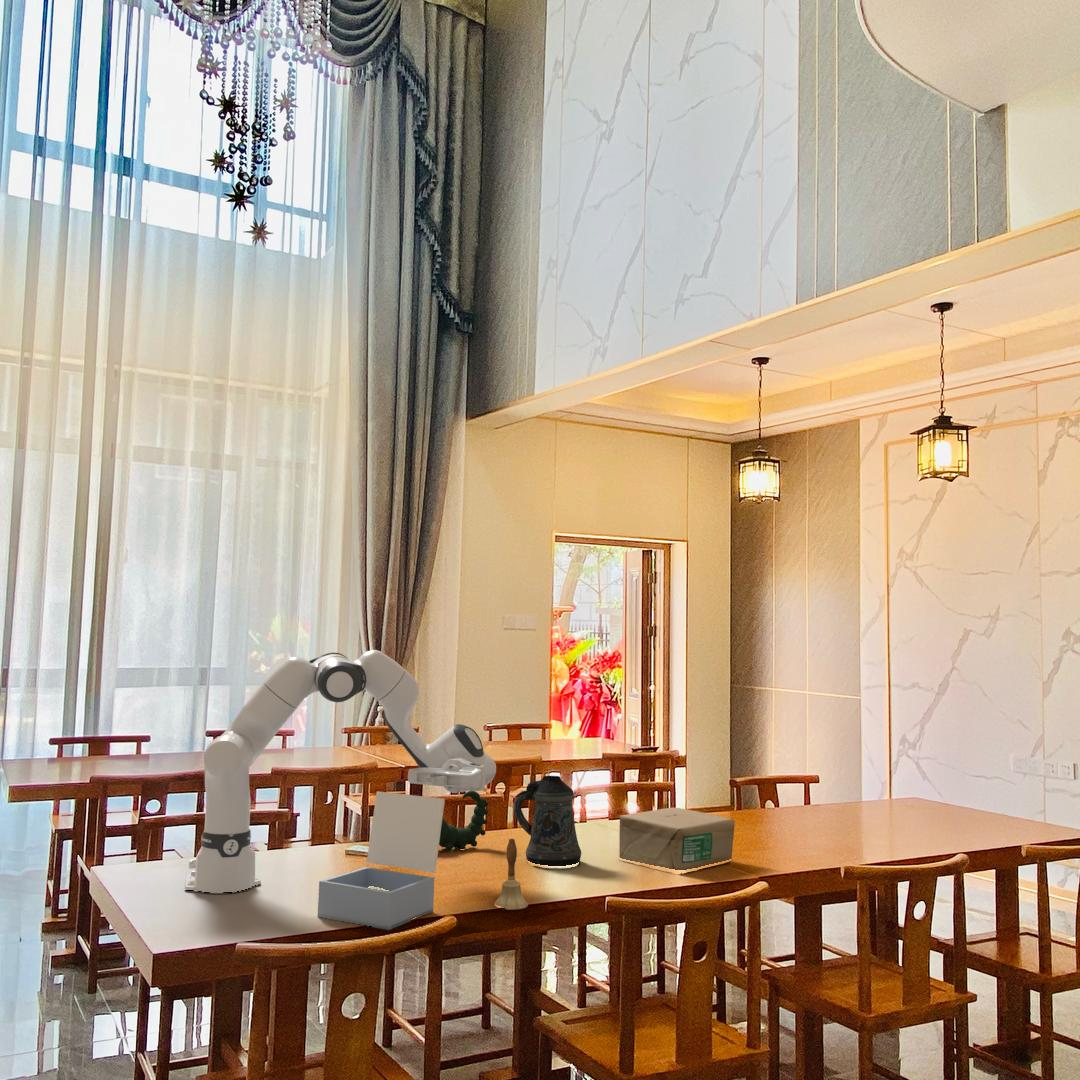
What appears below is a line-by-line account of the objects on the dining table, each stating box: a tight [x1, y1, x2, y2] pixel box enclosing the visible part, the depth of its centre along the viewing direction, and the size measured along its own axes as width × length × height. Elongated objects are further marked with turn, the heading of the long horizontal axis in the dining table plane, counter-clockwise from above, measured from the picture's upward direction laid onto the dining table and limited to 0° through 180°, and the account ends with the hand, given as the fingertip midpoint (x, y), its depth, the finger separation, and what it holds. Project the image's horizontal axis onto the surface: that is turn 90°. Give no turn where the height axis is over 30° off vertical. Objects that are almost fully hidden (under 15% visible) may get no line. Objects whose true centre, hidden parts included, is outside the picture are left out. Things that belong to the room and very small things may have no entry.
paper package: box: [618, 807, 736, 870], centre depth 303 cm, size 27×26×14 cm
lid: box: [366, 791, 446, 874], centre depth 247 cm, size 17×20×1 cm
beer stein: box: [513, 775, 582, 866], centre depth 297 cm, size 16×19×25 cm
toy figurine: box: [439, 791, 489, 851], centre depth 312 cm, size 9×19×25 cm
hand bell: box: [494, 838, 529, 911], centre depth 248 cm, size 8×8×16 cm
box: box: [317, 866, 435, 931], centre depth 237 cm, size 18×20×8 cm
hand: (428, 781), depth 257 cm, fingers closed
